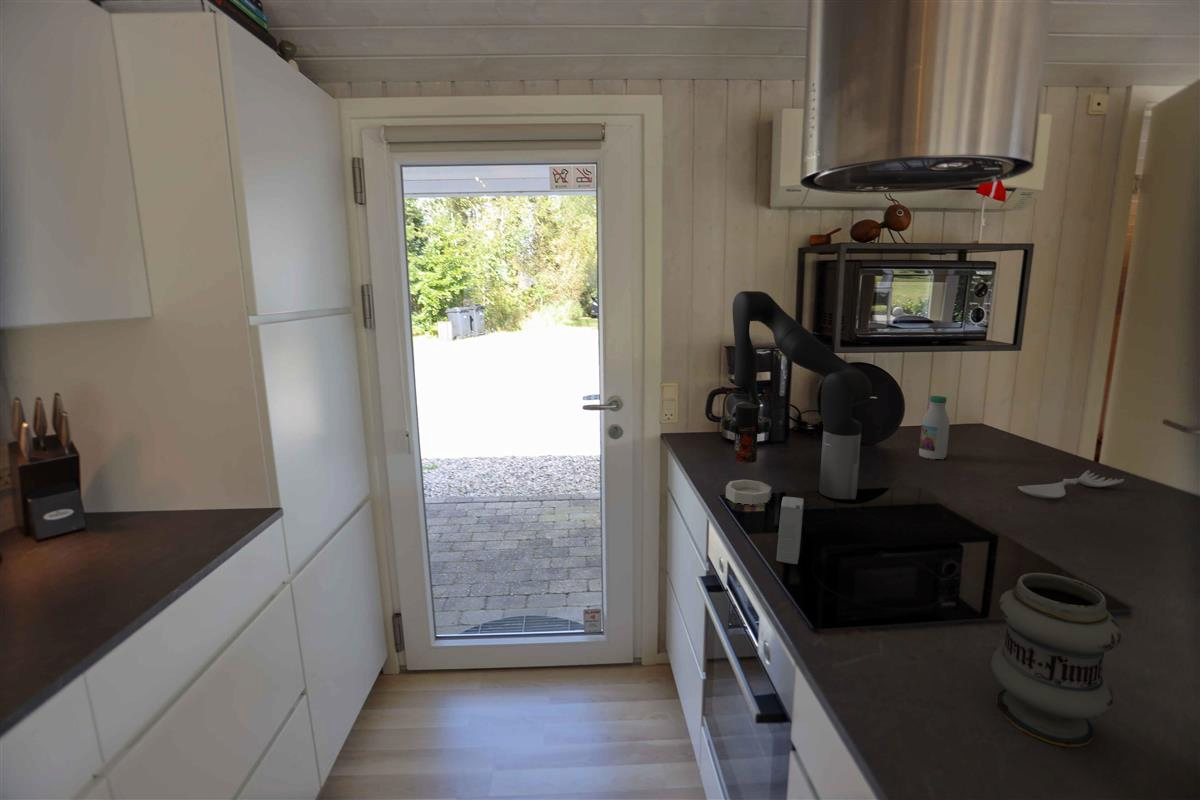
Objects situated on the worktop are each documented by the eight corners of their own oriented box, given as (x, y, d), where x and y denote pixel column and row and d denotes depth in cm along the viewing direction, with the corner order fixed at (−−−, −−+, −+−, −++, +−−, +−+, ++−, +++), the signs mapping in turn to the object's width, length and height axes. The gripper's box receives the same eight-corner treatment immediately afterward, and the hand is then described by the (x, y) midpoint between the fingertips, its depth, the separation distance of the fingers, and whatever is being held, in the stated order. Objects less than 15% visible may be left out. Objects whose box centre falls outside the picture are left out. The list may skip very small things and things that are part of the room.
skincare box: (778, 549, 120) (781, 495, 118) (800, 552, 118) (804, 497, 116) (775, 562, 114) (778, 505, 112) (799, 565, 113) (802, 508, 110)
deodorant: (760, 459, 154) (762, 405, 151) (749, 464, 150) (751, 409, 147) (741, 455, 158) (742, 402, 155) (729, 460, 154) (731, 406, 151)
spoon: (1124, 489, 154) (1126, 477, 153) (1044, 505, 143) (1046, 492, 143) (1086, 479, 162) (1088, 468, 162) (1008, 494, 152) (1010, 481, 151)
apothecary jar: (967, 682, 79) (982, 563, 75) (1059, 687, 78) (1079, 566, 74) (1022, 751, 67) (1043, 613, 64) (1132, 758, 66) (1159, 618, 62)
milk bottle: (938, 453, 188) (945, 394, 185) (950, 460, 181) (957, 399, 177) (914, 453, 189) (920, 394, 185) (925, 460, 182) (931, 398, 178)
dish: (773, 494, 152) (773, 483, 152) (765, 507, 143) (765, 496, 142) (732, 488, 157) (733, 477, 157) (722, 501, 148) (722, 490, 147)
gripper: (720, 402, 167) (719, 415, 151) (770, 404, 164) (775, 417, 148) (719, 427, 168) (718, 442, 152) (769, 429, 165) (774, 444, 149)
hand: (746, 429), depth 150 cm, fingers closed on deodorant, 6 cm apart
